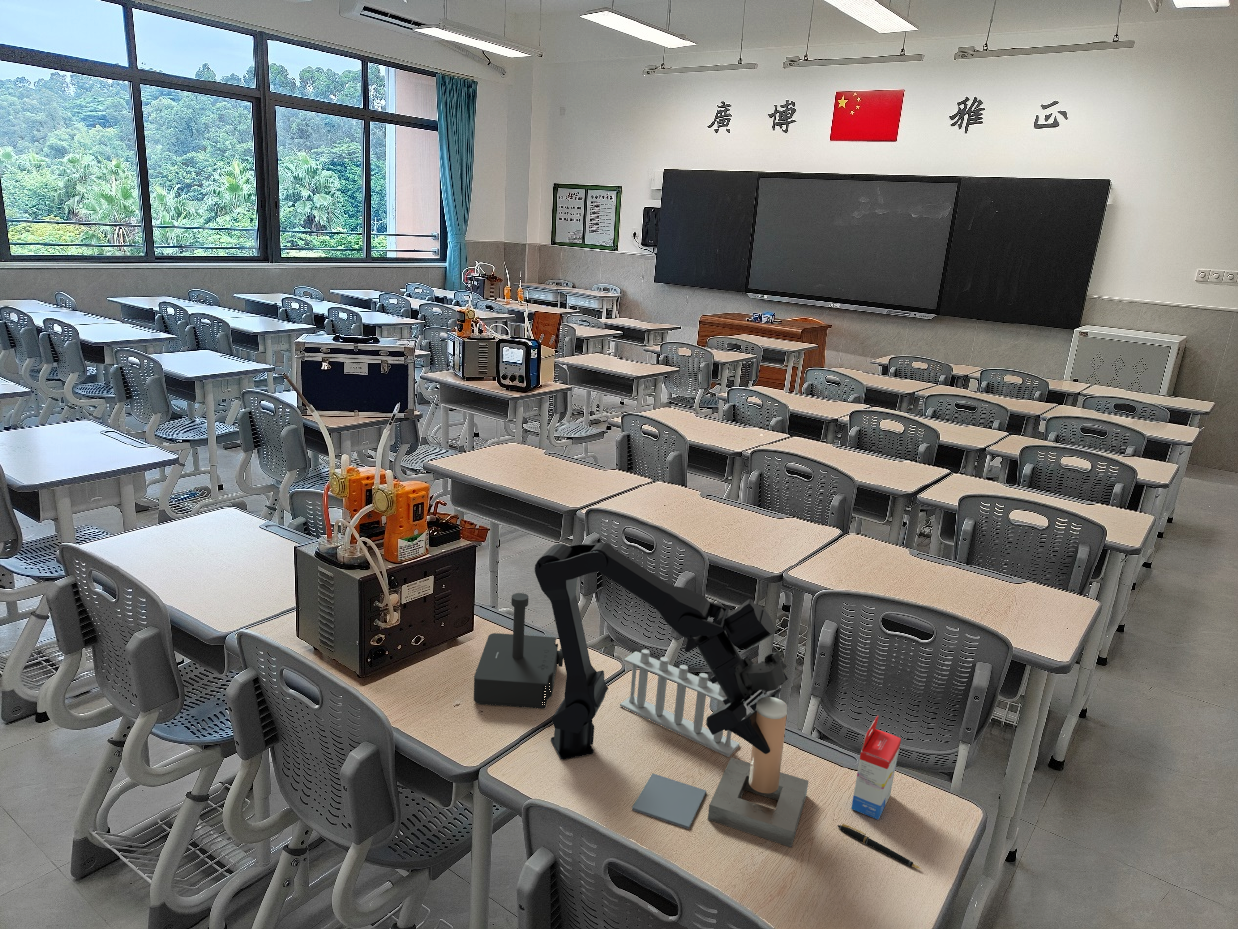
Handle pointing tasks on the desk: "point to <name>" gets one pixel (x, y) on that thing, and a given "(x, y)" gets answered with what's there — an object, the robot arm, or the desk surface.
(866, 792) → the ink box
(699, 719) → the test tube rack
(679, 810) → the slate mat
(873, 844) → the fountain pen
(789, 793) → the bore housing
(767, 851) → the desk surface
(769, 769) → the tan peg
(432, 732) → the desk surface
